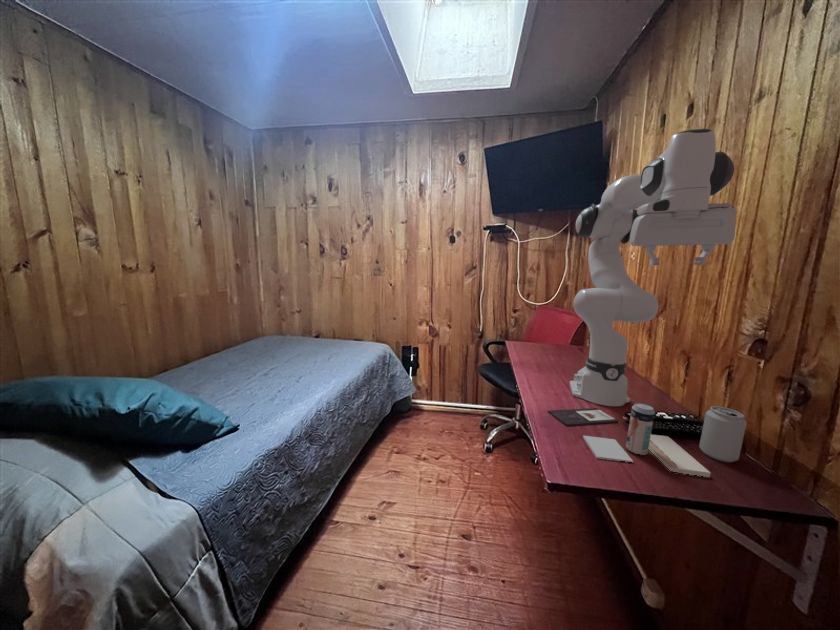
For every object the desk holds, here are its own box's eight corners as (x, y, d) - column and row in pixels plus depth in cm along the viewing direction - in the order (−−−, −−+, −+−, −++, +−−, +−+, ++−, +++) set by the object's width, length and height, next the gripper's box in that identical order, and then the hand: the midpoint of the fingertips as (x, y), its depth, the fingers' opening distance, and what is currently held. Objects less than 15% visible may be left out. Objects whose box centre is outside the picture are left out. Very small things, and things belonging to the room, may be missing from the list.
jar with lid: (626, 443, 86) (633, 400, 84) (648, 451, 83) (656, 406, 81) (623, 451, 82) (631, 406, 80) (646, 459, 79) (654, 412, 77)
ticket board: (635, 436, 90) (636, 432, 90) (667, 440, 89) (668, 435, 89) (670, 472, 74) (671, 467, 74) (709, 477, 73) (710, 472, 73)
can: (732, 467, 78) (742, 420, 76) (693, 451, 84) (702, 407, 82) (742, 459, 82) (752, 413, 80) (704, 444, 88) (713, 402, 86)
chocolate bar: (547, 410, 102) (596, 408, 106) (547, 413, 103) (596, 410, 107) (566, 424, 94) (618, 421, 98) (565, 427, 94) (618, 424, 98)
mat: (582, 437, 88) (583, 435, 88) (614, 441, 87) (614, 439, 87) (597, 458, 78) (597, 456, 78) (633, 463, 77) (633, 461, 77)
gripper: (728, 204, 76) (719, 264, 79) (630, 208, 81) (624, 264, 84) (747, 200, 70) (737, 265, 73) (640, 204, 75) (634, 265, 78)
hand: (676, 264), depth 78 cm, fingers open, 8 cm apart
